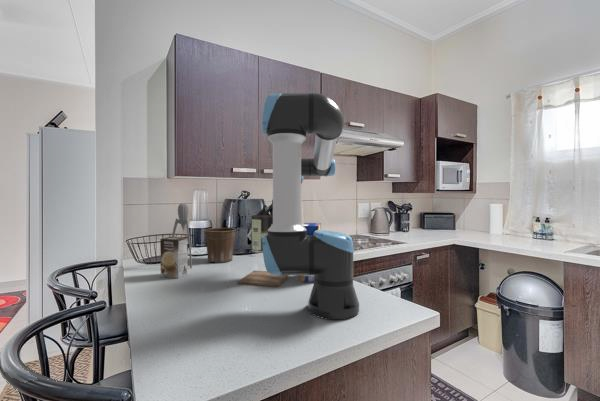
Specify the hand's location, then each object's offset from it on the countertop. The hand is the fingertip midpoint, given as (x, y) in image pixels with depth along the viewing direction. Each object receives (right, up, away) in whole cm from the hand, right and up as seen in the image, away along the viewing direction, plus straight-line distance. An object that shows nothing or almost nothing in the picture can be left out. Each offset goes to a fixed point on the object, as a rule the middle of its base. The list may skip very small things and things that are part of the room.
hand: (259, 239), depth 117 cm
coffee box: (-37, -17, +9) cm, 42 cm away
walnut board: (+2, -17, +3) cm, 17 cm away
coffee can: (+2, -5, +3) cm, 6 cm away
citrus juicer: (-38, -16, +24) cm, 48 cm away
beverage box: (+21, -17, +4) cm, 27 cm away
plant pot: (-25, -16, +36) cm, 47 cm away
